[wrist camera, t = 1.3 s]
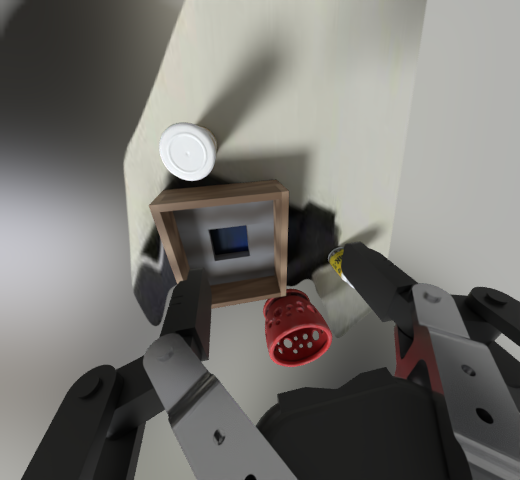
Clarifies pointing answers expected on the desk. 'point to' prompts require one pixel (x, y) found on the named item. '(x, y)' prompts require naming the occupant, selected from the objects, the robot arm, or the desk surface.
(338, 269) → the supplement bottle
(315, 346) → the plant pot
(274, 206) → the wooden box
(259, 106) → the desk surface
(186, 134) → the sprinkles bottle
